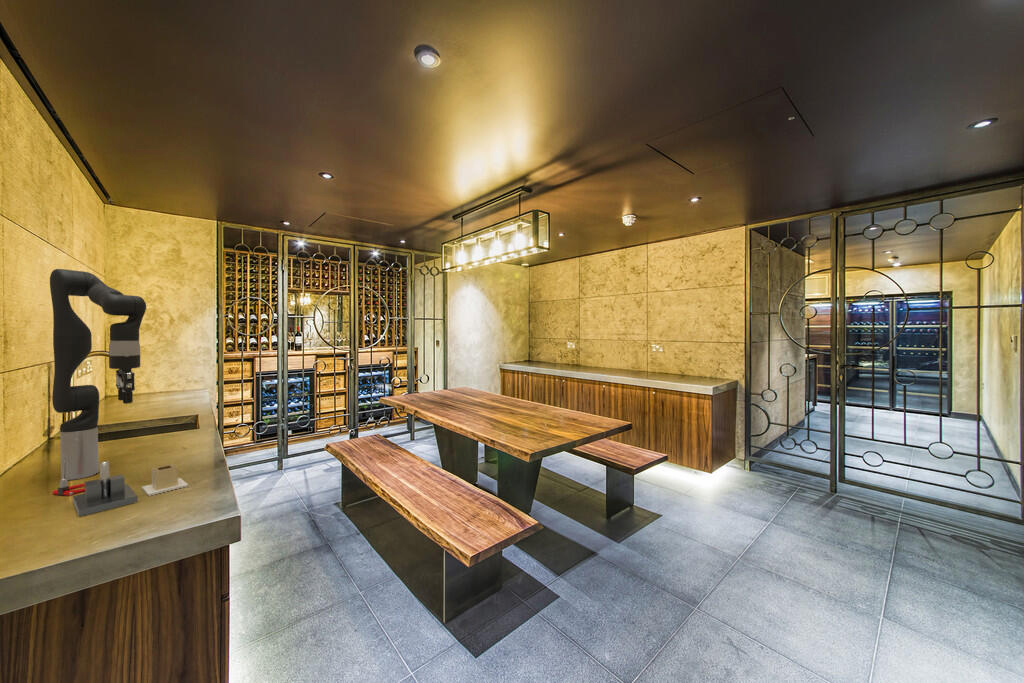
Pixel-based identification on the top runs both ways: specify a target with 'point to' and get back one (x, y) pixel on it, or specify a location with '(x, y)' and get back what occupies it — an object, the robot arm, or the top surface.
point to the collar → (164, 476)
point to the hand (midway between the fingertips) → (125, 401)
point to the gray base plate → (104, 493)
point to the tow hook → (66, 482)
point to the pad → (151, 491)
